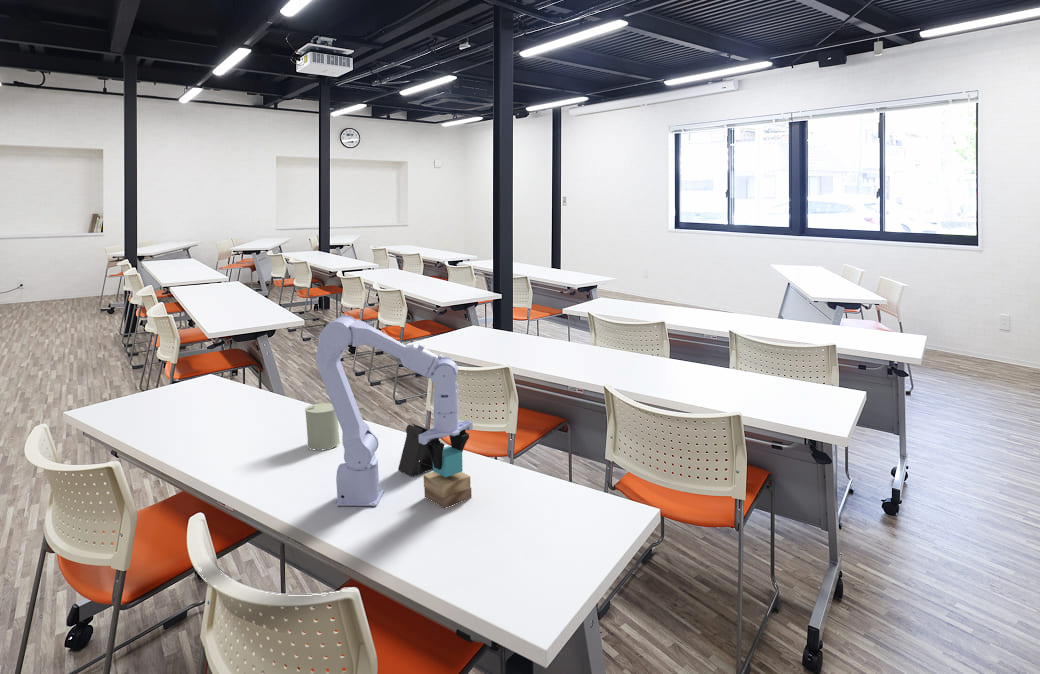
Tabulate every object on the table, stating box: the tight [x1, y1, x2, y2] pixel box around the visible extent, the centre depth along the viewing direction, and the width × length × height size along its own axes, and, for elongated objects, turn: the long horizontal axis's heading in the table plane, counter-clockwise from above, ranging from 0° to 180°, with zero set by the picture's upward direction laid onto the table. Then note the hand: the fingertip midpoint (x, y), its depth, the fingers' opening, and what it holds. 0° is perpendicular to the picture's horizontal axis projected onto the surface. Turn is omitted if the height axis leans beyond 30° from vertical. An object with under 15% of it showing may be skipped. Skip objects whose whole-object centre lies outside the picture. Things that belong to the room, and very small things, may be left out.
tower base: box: [423, 486, 472, 509], centre depth 149 cm, size 8×8×3 cm
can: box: [304, 402, 341, 451], centre depth 182 cm, size 9×9×12 cm
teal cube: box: [432, 445, 463, 477], centre depth 147 cm, size 5×5×5 cm
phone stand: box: [397, 423, 433, 477], centre depth 165 cm, size 9×6×12 cm, turn 135°
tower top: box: [423, 471, 471, 498], centre depth 148 cm, size 8×8×3 cm
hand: (447, 464), depth 147 cm, fingers closed on teal cube, 5 cm apart
